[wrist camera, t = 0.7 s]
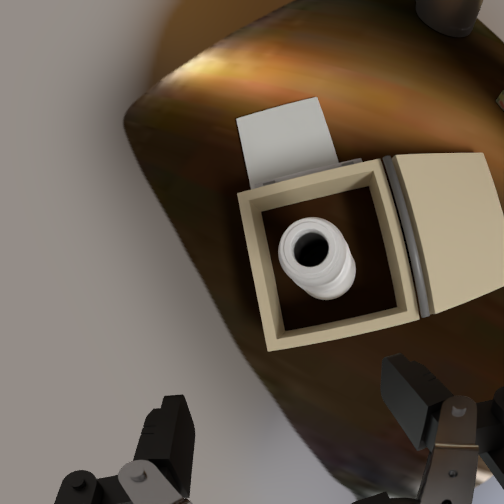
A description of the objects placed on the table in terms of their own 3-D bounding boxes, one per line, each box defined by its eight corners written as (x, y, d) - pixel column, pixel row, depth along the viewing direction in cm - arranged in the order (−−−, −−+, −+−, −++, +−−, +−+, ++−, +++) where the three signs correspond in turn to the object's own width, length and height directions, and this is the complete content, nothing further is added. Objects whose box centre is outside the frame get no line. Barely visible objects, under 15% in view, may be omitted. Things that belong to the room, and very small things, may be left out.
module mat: (237, 120, 37) (236, 118, 37) (317, 98, 35) (317, 96, 34) (253, 195, 35) (252, 194, 35) (341, 173, 33) (341, 172, 33)
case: (248, 195, 36) (232, 179, 30) (379, 163, 32) (386, 141, 27) (277, 341, 33) (265, 353, 28) (415, 312, 30) (431, 317, 24)
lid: (482, 152, 28) (478, 155, 29) (395, 154, 26) (391, 158, 27) (516, 280, 26) (511, 280, 27) (435, 313, 24) (429, 313, 25)
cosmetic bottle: (354, 301, 32) (387, 335, 11) (296, 298, 33) (224, 325, 12) (356, 241, 32) (390, 169, 11) (298, 240, 34) (234, 169, 13)
